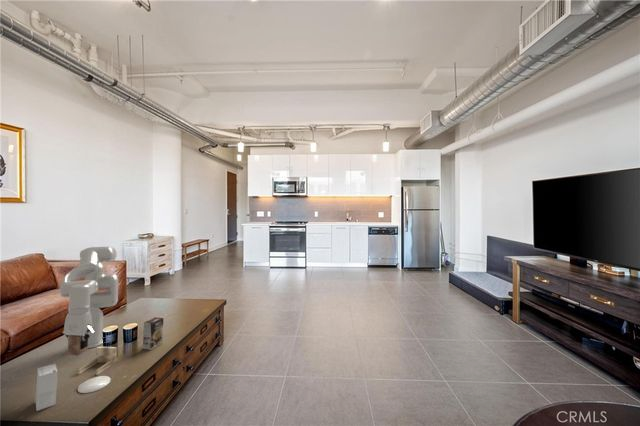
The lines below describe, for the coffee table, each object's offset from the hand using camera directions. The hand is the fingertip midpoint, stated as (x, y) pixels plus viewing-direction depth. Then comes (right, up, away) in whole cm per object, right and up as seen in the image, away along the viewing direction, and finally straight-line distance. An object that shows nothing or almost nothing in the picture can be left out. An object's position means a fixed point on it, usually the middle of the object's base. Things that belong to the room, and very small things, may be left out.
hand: (78, 347), depth 129 cm
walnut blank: (0, -3, 0) cm, 3 cm away
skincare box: (-1, -17, -14) cm, 22 cm away
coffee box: (+13, -18, +37) cm, 43 cm away
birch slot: (-1, -17, +12) cm, 21 cm away
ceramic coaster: (+9, -18, -1) cm, 20 cm away
